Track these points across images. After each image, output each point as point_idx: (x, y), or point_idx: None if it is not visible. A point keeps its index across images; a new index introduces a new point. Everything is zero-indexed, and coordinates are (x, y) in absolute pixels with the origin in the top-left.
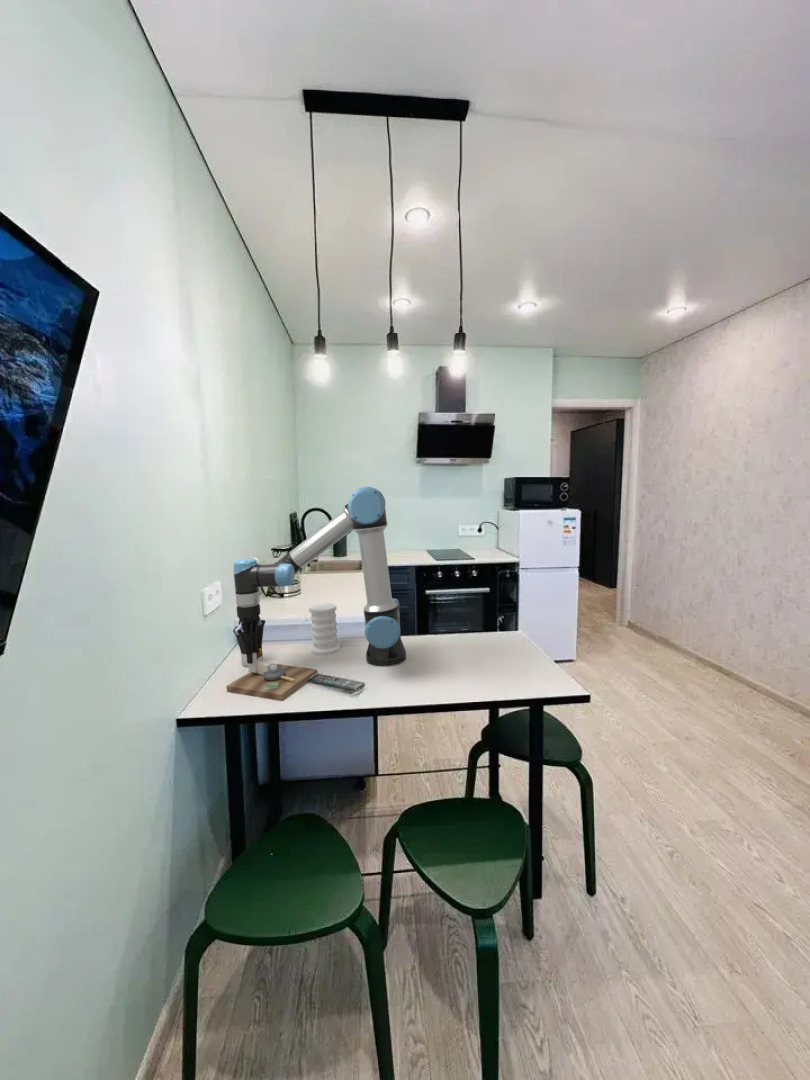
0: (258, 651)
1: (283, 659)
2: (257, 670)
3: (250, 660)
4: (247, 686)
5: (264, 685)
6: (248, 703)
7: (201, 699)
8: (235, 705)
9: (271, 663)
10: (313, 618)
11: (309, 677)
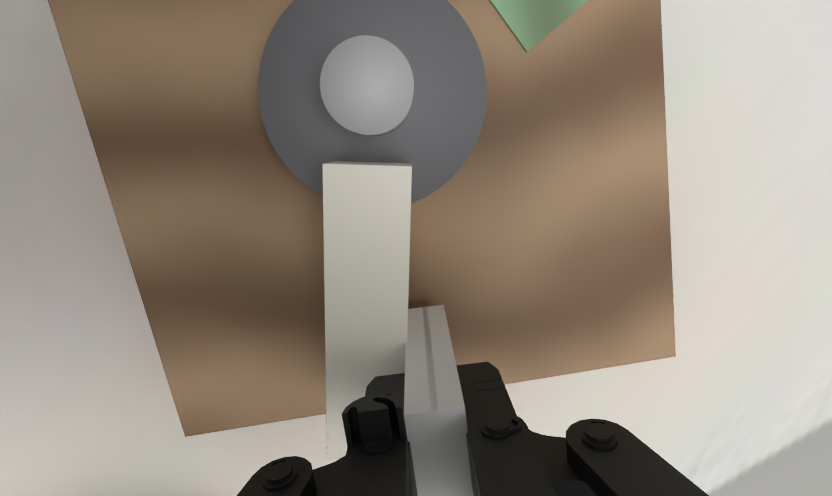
0: (378, 403)
1: (13, 423)
2: (409, 310)
3: (494, 383)
4: (623, 182)
5: (551, 45)
6: (745, 7)
7: (797, 391)
8: (802, 81)
9: (328, 176)
10: None
11: None
